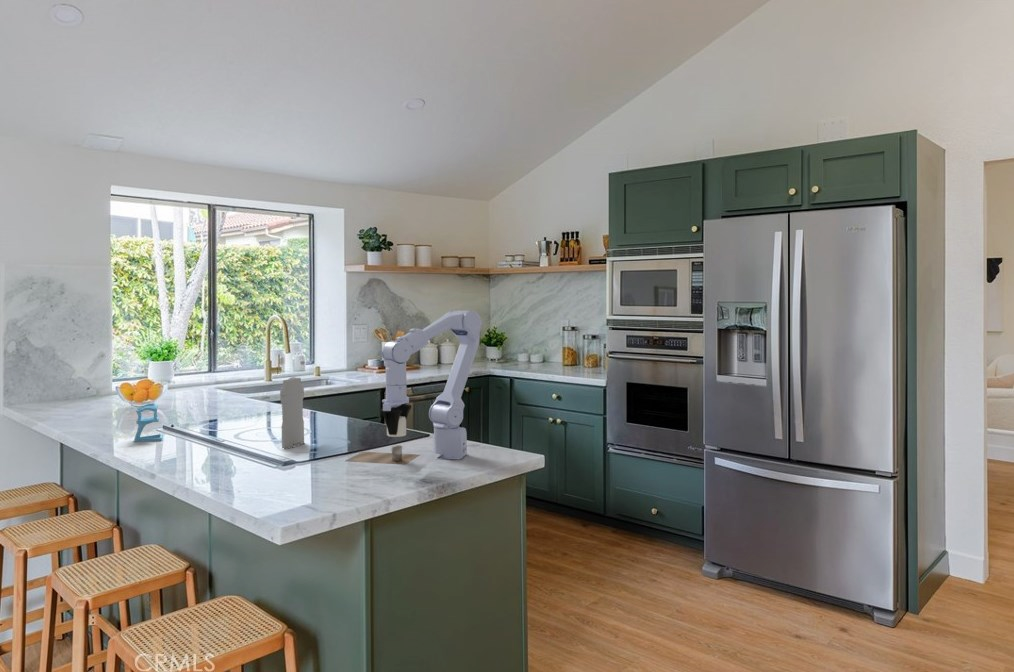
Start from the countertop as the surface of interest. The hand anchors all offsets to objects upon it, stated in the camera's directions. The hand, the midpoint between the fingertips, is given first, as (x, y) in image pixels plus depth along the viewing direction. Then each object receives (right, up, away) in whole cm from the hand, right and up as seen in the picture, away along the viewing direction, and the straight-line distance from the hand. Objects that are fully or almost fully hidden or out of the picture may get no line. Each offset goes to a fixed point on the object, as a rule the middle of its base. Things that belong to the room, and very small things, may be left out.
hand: (396, 432), depth 198 cm
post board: (-4, -9, +4) cm, 11 cm away
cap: (0, -1, 0) cm, 1 cm away
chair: (-88, -8, +36) cm, 96 cm away
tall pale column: (-37, -8, +27) cm, 46 cm away
